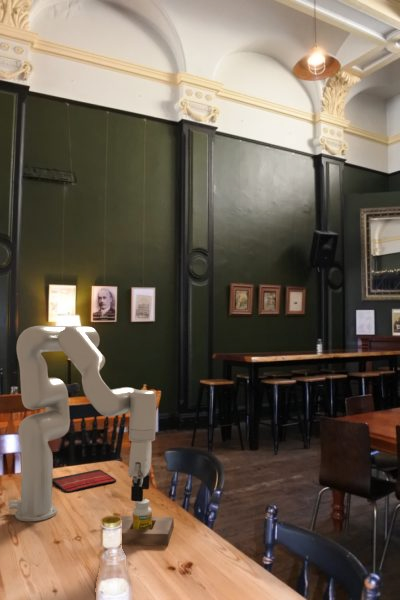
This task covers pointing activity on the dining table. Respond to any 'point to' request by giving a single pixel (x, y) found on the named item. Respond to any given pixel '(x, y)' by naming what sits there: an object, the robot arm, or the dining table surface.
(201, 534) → the dining table surface
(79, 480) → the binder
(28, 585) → the dining table surface
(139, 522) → the supplement bottle
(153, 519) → the socket block
